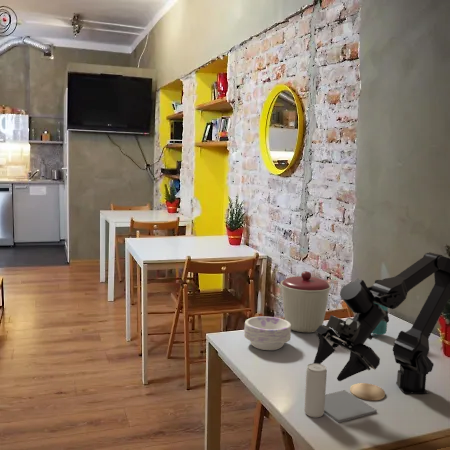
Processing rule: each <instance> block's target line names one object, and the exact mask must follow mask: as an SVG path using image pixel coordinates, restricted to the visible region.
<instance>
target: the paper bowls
mask: <svg viewBox="0 0 450 450" xmlns="http://www.w3.org/2000/svg"><path fill="white" fill-rule="evenodd" d="M243 331H244V332H243V333H244V335H243V336H244V337H245V339H247V340H248V341H249V342H250V343H251V345H252V346H253V347H254V348H256V349H258V350H262V351H276V350H279V349H281V348H283V346H284V344H285V343H288V342H289V341H291V335H292V334H291V333H292V330H291V324H290V323H289V322H288V321H286V320H285V318H284V319H283V318H280V317H275V316H262V315H261V316H253V317H250V318H249V317H248V319H245V322H244V330H243Z"/></svg>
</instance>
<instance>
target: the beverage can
mask: <svg viewBox="0 0 450 450" xmlns="http://www.w3.org/2000/svg"><path fill="white" fill-rule="evenodd" d="M305 371H306V372H305V373H306V375H305V389H304V390H305V391H304V408H303V409H304V413H305V414H306V416H308V417H309V418H310V417H311V418H314V419H315V418H321V417H323V415H324V414H325V413H324V407H325V395H326V388H327V366H326V365H324V364H322V363H321V364H318V363H314V362H313V363H309V364H308V365H307V367H306V370H305Z"/></svg>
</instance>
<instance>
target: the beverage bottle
mask: <svg viewBox="0 0 450 450" xmlns="http://www.w3.org/2000/svg"><path fill="white" fill-rule="evenodd" d="M380 280H381V279H375V280H374V284H375V283H376V282H378V281H380ZM374 304H377V303H374ZM378 305H379V304H378ZM379 306H380V307H381V308H382V309H383V310H385V311H388V312H389V308H387V307H385V306H382V305H379ZM388 323H389V322H385V321H382V320H381V322H380V323H379V324H378V325H377V327H376V328H375V329H374V331H373V332H372V333H371V334H375V335H385V334H387V330H388V329H387V328H388Z"/></svg>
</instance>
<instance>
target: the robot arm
mask: <svg viewBox="0 0 450 450" xmlns="http://www.w3.org/2000/svg"><path fill="white" fill-rule="evenodd" d="M432 275H434V276H433V277H434V285H433V286H432V288H431V290H430V293H429V294H428V296H427V298H426V300H425V301H424V304H423V306H422V307H421V309H420V311H419V312H418V315H417V317H416V319H415V320H414V322H413V324H412V325H411V326H412V327H411V328H410V329H408V330H407V331H405V330H401V331H400V332H398V336H397V337H396V339H395V340H394V341H393V347H392V352H393V356H394V360H395V364H398V365H399V369H398V370H397V375H396V385H397V386H398V388H399V389H400V390H401V392H402V393H404V394H419V395H420V394H421V395H422V394H424V395H425V394H426V395H427V394H428V391H427V389H426V383H427V382H426V380H427V375H428V374H429V373H430V372H432V371H433V368H434V362H433V361H432V360H431V359H430V358H429V356H428V355H429V352H430V343H429V342H430V341H429V338H430V335H431V334H432V332H433V331H434V329H435V326H436V324H437V323H438V321H439V319H440V317H441V315H442V313H443V311H444V310H445V307H446V306H447V304H448V301H449V300H450V257H448V256H444V255H443V254H441V253H440V254H438V253H435V252H431V251H430V252H425V253H424V255H423V257H421V258H420V259H418V260H417V261H416V262H414V263H413V264H411V265H410V266H408V267H407V268H406V269H404V270H402V271H401V272H400V273H399V274H397V275H394V276H393V277H392V276H391V277H387V278H383V279H379V280H380V281H378V282H376V283H375V282H374V283H373V284H372V285H371V286H370V285H369V286H367V283H366V282H365V281H364V280H363V279H361V278H356V280H355V281H351V282H348V283H347V284H346V285H343V286H342V288H341V290H340V291H339V296H340V298H341V299H342V300H343V302H344V303H345V304H346V306H348V308H349V309H350V311H351V312H353V313H355V315H354V316H353V318H351V317H347V318H346V319H345V320H343V319H341V318H339V317H337V316H334V315H333V314H331V315H330V316H329V318H328V321H327V323H326V325H325V324H323V325H321V326H319V327H318V329H317V330H316V331H315V332H314V333H316V334H317V335H316V337H317V339H318V343H319V344H318V348H317V351H316V354H315V357H314V360H313V363H318V364H322V363H323V362H325V360H326V359H328V358H329V357H330V356H331V355H332V354H333V353H335V352H336V348H338V347H341V348H343V349H345V350H347V351H349V352H350V354H349V359H348V361H347V362H346V364H345V365H344V366H343V368H342V369H341V371H340V372H339V373H338V374H337V377H336V380H337V381H338V382H342V381H344V380H346V379H349V378H350V377H353V376H355V375H357V374H359V373H362V372H365V371H367V370H368V371H370V370H371V369H373V370H375V371H376V370H377V368H378V367H379V365H380V361H381V358H380V357H379V356H378V354H377V353H376V352H375V351H374V350H373V349H372V347H370V346H367V345H366V344H365V342H366V341H367V340H368V339H369V341H371V340H372V339H373V338H374V336H373V335H372V334H373V333H372V332H373V331H374V329H375V328H376V327H377V325H378V324H379V323H380V322H381V320H382V321H385V322H388V323H389V321H390V318H389V310H388V311H385V310H383V309H382V308H381V307H380V306H379V305H382V306H385V307H387V308H388V309H390V310H394V309H396V308H399V306H400V305H401V304H402V303H404V301H406V299H407V296H408V293H409V292H410V291H411V290H412V289H414V288H415V287H416V286H418V285H419V284H420V283H422V282H423V281H425V280H426V279H427V278H429V277H431V276H432ZM374 303H377V304H374ZM378 304H379V305H378Z"/></svg>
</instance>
